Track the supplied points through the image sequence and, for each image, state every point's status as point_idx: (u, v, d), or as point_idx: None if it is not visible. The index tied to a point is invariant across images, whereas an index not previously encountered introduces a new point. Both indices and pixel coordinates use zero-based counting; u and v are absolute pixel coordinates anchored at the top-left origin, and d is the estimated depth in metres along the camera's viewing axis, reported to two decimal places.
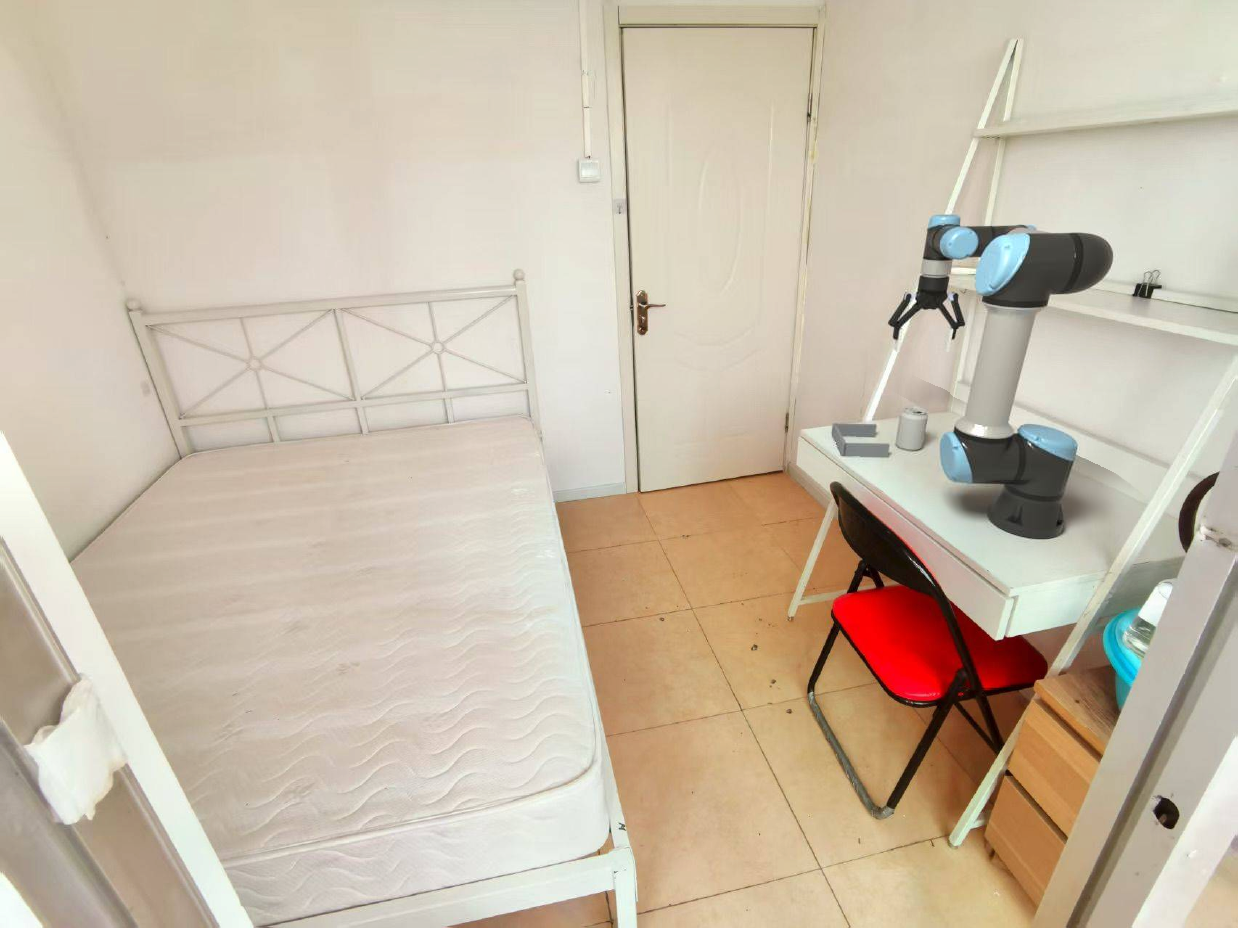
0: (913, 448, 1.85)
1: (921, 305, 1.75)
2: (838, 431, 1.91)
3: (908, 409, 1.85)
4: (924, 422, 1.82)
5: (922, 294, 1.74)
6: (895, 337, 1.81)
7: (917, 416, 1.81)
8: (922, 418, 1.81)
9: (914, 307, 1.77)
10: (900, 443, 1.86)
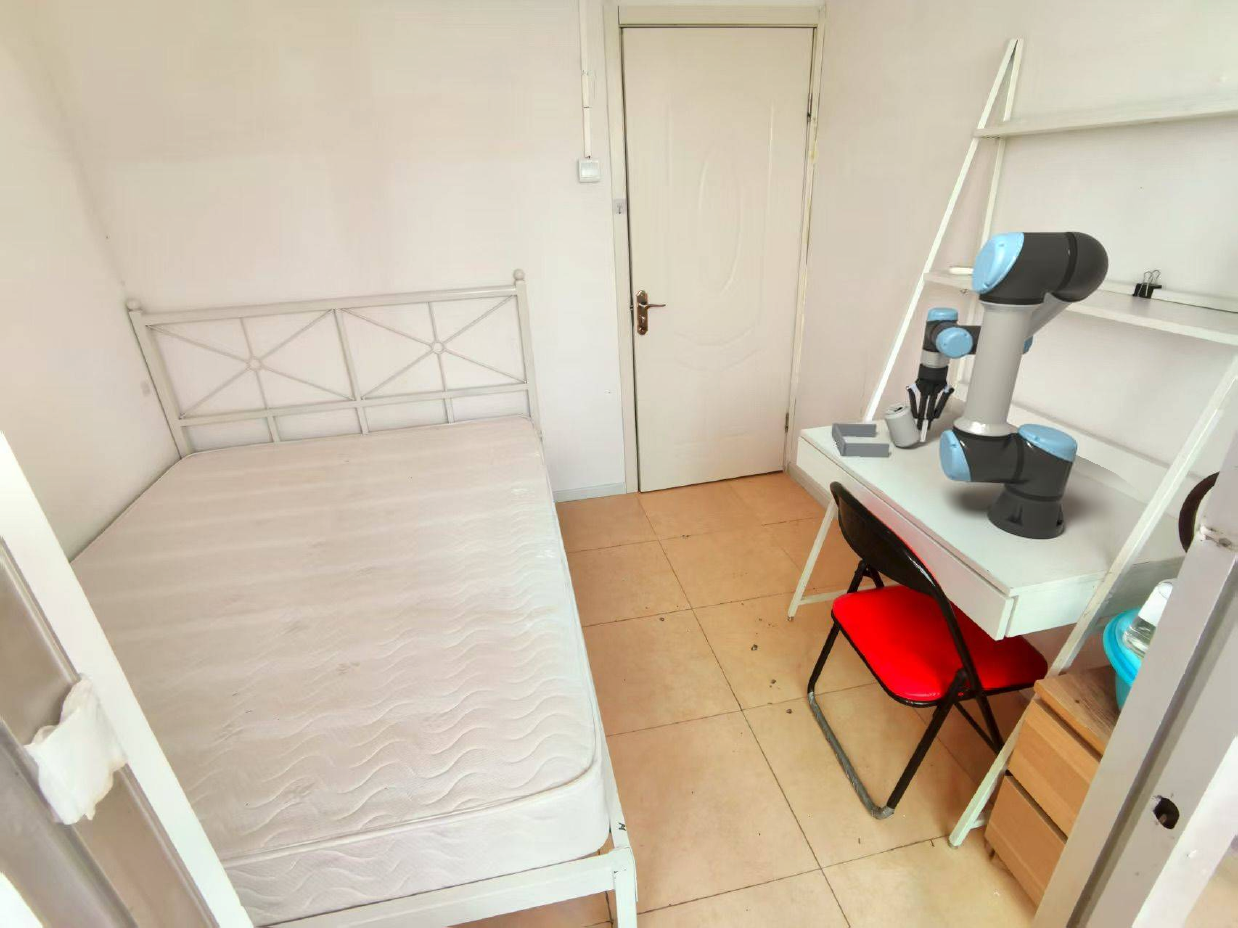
0: (911, 442, 1.84)
1: (926, 394, 1.80)
2: (838, 431, 1.91)
3: (889, 409, 1.87)
4: (908, 416, 1.82)
5: (920, 381, 1.79)
6: (919, 428, 1.86)
7: (898, 413, 1.82)
8: (904, 413, 1.82)
9: (922, 397, 1.82)
10: (897, 442, 1.86)
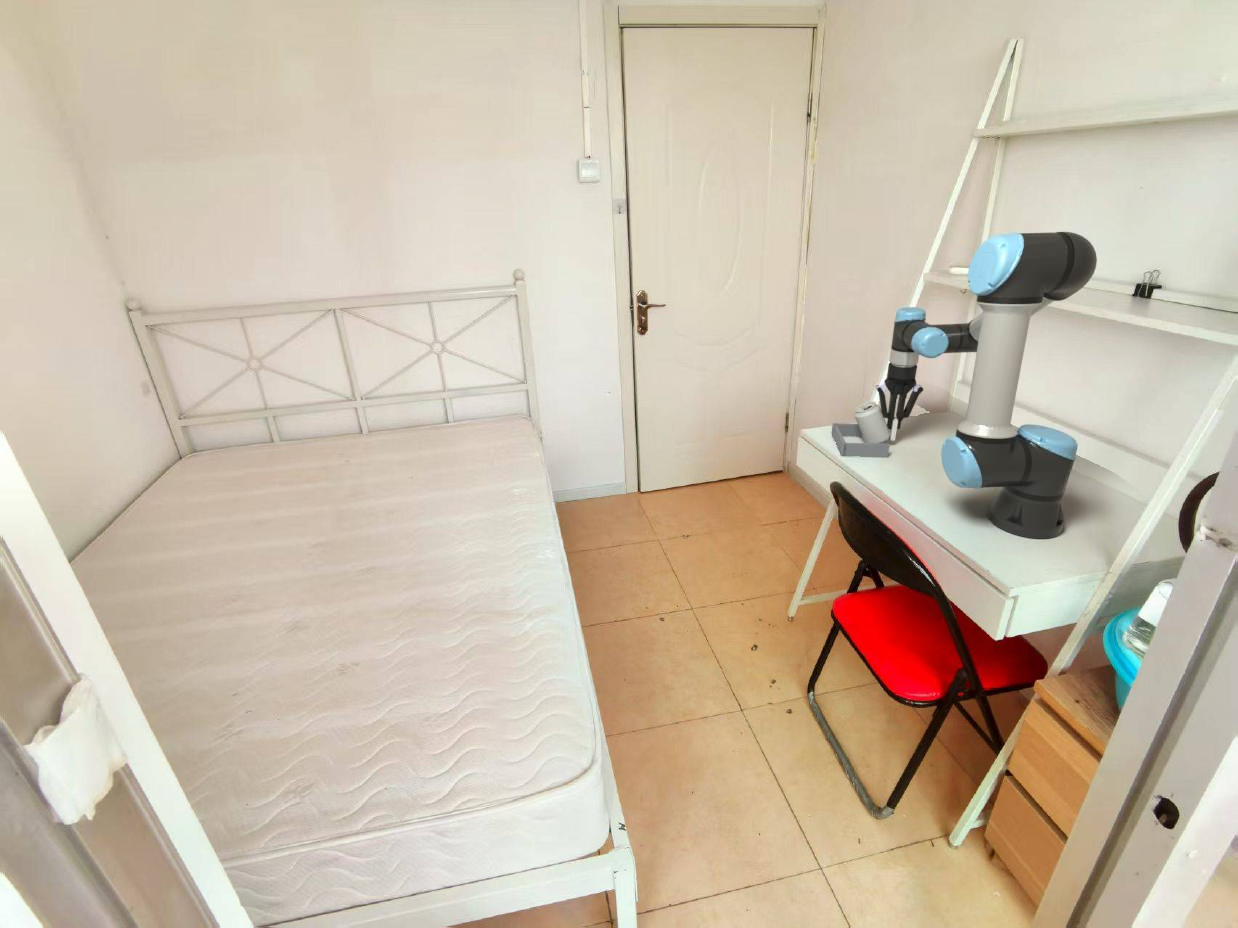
0: (880, 441, 1.86)
1: (895, 393, 1.81)
2: (838, 431, 1.91)
3: (860, 407, 1.88)
4: (877, 414, 1.83)
5: (889, 381, 1.80)
6: (889, 427, 1.87)
7: (867, 412, 1.84)
8: (873, 412, 1.83)
9: (891, 396, 1.83)
10: (866, 440, 1.88)
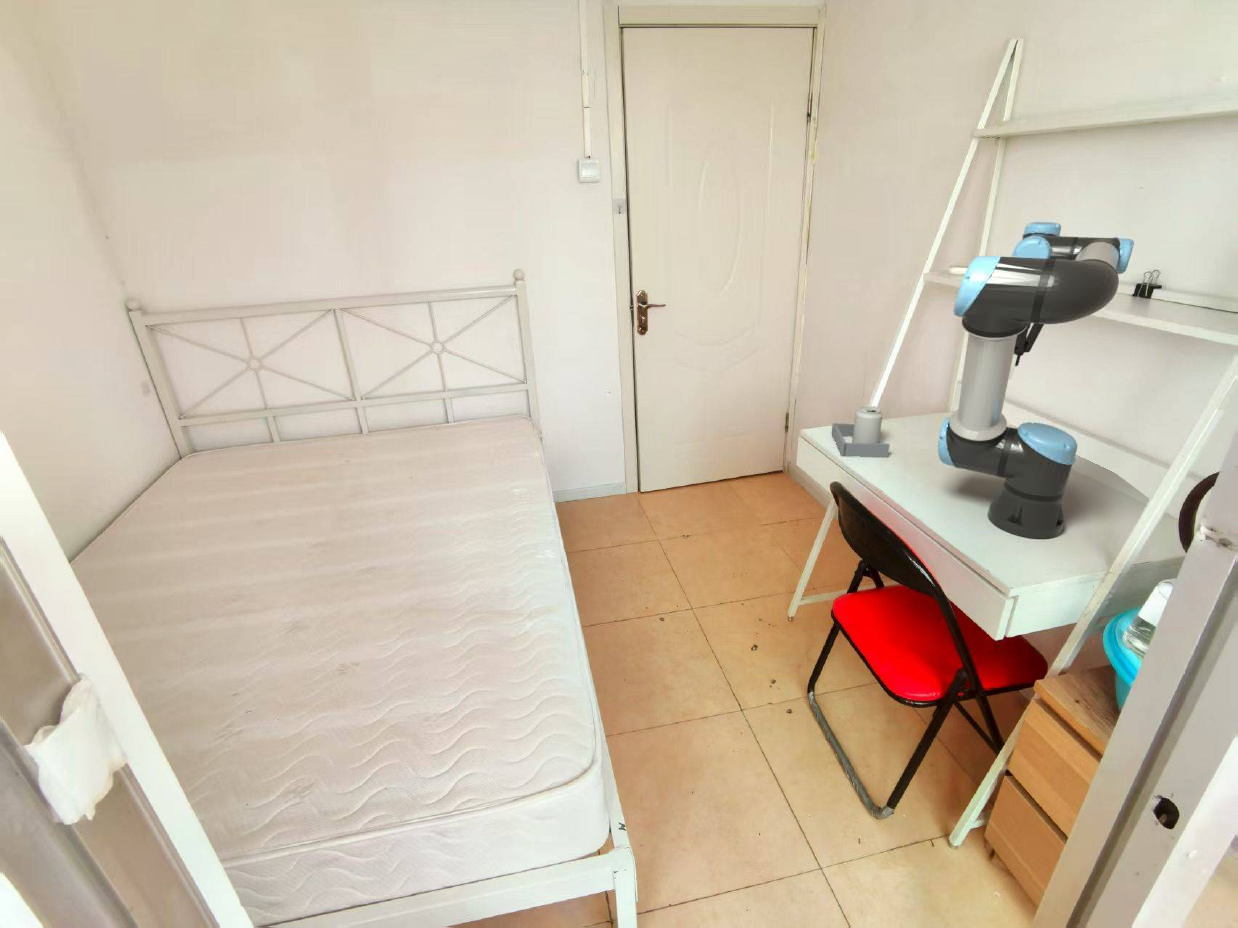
0: None
1: None
2: (838, 431, 1.91)
3: (864, 408, 1.87)
4: (877, 421, 1.83)
5: None
6: None
7: (869, 415, 1.83)
8: (875, 417, 1.83)
9: None
10: (855, 441, 1.88)
